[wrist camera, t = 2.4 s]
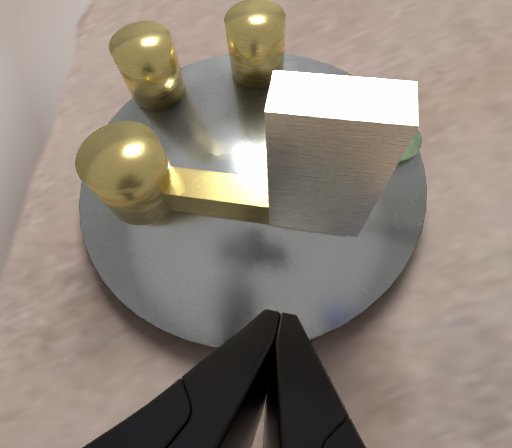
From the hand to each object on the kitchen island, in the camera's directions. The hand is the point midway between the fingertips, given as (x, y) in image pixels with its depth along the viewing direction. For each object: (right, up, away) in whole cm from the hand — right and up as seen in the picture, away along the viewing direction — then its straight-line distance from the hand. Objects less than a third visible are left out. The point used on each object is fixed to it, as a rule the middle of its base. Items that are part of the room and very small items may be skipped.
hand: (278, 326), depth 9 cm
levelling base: (-1, +6, +14) cm, 15 cm away
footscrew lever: (-2, +4, +12) cm, 12 cm away
